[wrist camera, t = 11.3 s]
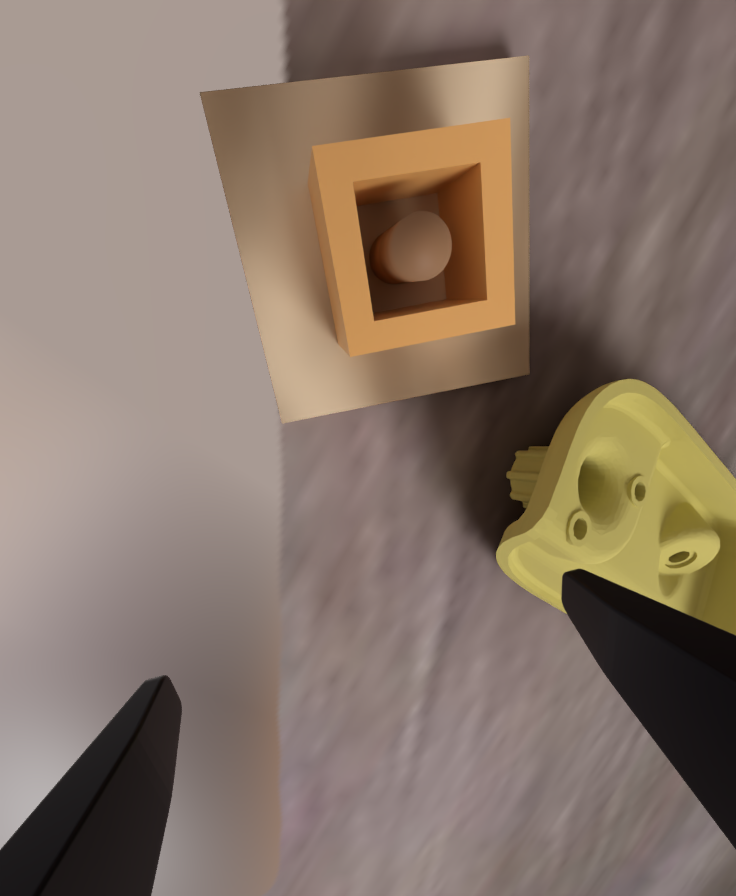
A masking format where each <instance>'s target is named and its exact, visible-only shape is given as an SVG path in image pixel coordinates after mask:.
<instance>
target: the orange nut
mask: <svg viewBox="0 0 736 896" xmlns="http://www.w3.org/2000/svg"><path fill="white" fill-rule="evenodd" d="M308 187H309V193H310V198H311V203H312V208H313V214H314V219H315V224H316V229H317V235H318V240H319V245H320V251H321V256H322V261H323V266H324V272H325V277H326V282H327V287H328V293H329V298H330V303H331V309H332V314H333V319H334V324H335V330H336V335H337V340H338V344H339V345H340V346H341V348H342V349H343V350H344V351H345V352H346V353H347V354H348V355H349V356H350V357H353V356H358V355H363V354H368V353H373V352H378V351H383V350H389V349H394V348H399V347H404V346H409V345H414V344H419V343H424V342H429V341H434V340H439V339H444V338H449V337H454V336H459V335H465V334H470V333H475V332H480V331H485V330H490V329H495V328H500V327H505V326H510V325H515V290H514V249H513V208H512V167H511V126H510V118H504V119H497V120H490V121H483V122H476V123H469V124H462V125H455V126H448V127H442V128H435V129H428V130H421V131H414V132H407V133H400V134H393V135H386V136H379V137H372V138H365V139H358V140H351V141H344V142H337V143H330V144H323V145H316V146H312V151H311V159H310V167H309V176H308ZM435 193H437V195H438V207H439V217H440V218H441V219H442V220H443V221H444V222H445V224H446V225H447V227H448V229H449V232H450V235H451V240H452V250H451V255H450V258H449V261H448V263H447V265H446V266H445V268H444V277H445V289H446V299H444V300H439V301H433V302H428V303H423V304H417V305H412V306H407V307H401V308H396V309H391V310H385V311H380V312H375V313H373V311H372V304H371V298H370V291H369V285H368V278H367V272H366V265H365V259H364V252H363V245H362V239H361V232H360V226H359V219H358V213H357V206H360V205H366V204H372V203H379V202H385V201H391V200H397V199H404V198H410V197H416V196H423V195H429V194H435Z"/></svg>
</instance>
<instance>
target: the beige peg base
mask: <svg viewBox="0 0 736 896" xmlns="http://www.w3.org/2000/svg"><path fill="white" fill-rule="evenodd" d="M200 96H201V100H202V104H203V108H204V111H205V116H206V120H207V124H208V128H209V132H210V136H211V140H212V144H213V148H214V152H215V156H216V160H217V164H218V168H219V172H220V176H221V180H222V183H223V188H224V192H225V196H226V200H227V204H228V208H229V212H230V216H231V220H232V224H233V228H234V232H235V236H236V240H237V244H238V248H239V252H240V256H241V260H242V264H243V268H244V272H245V276H246V280H247V284H248V288H249V293H250V296H251V301H252V304H253V309H254V312H255V317H256V321H257V324H258V329H259V333H260V336H261V341H262V345H263V349H264V353H265V357H266V361H267V365H268V369H269V373H270V377H271V381H272V385H273V389H274V393H275V397H276V401H277V405H278V409H279V413H280V417H281V421H282V423H287V422H292V421H297V420H302V419H307V418H312V417H317V416H322V415H327V414H332V413H337V412H342V411H347V410H352V409H357V408H363V407H368V406H373V405H378V404H383V403H388V402H393V401H398V400H403V399H408V398H413V397H418V396H423V395H428V394H433V393H438V392H443V391H448V390H453V389H458V388H463V387H468V386H473V385H478V384H483V383H488V382H493V381H498V380H503V379H508V378H513V377H518V376H523V375H528V374H529V56H521V57H512V58H503V59H494V60H485V61H476V62H467V63H458V64H449V65H440V66H431V67H422V68H413V69H404V70H396V71H387V72H378V73H369V74H360V75H351V76H342V77H333V78H324V79H315V80H306V81H297V82H288V83H279V84H270V85H261V86H252V87H243V88H235V89H226V90H217V91H208V92H200ZM504 118H510V126H511V167H512V208H513V249H514V290H515V325H510V326H505V327H500V328H495V329H490V330H485V331H480V332H475V333H470V334H465V335H459V336H454V337H449V338H444V339H439V340H434V341H429V342H424V343H419V344H414V345H409V346H404V347H399V348H394V349H389V350H383V351H378V352H373V353H368V354H363V355H358V356H353V357H350V356H349V355H348V354H347V353H346V352H345V351H344V350H343V349H342V348H341V346H340V345H339V344H338V340H337V335H336V330H335V324H334V319H333V314H332V309H331V303H330V298H329V293H328V287H327V282H326V277H325V272H324V266H323V261H322V256H321V251H320V245H319V240H318V235H317V229H316V224H315V219H314V214H313V208H312V203H311V198H310V193H309V187H308V176H309V167H310V159H311V151H312V146H316V145H323V144H330V143H337V142H344V141H351V140H358V139H365V138H372V137H379V136H386V135H393V134H400V133H407V132H414V131H421V130H428V129H435V128H442V127H448V126H455V125H462V124H469V123H476V122H483V121H490V120H497V119H504ZM357 213H358V219H359V226H360V232H361V239H362V245H363V252H364V259H365V265H366V272H367V278H368V285H369V291H370V298H371V304H372V311H373V313H375V312H380V311H385V310H391V309H396V308H401V307H407V306H412V305H417V304H423V303H428V302H433V301H439V300H444V299H446V289H445V277H444V268H445V266H446V265H447V263H448V261H449V258H450V255H451V250H452V240H451V235H450V232H449V229H448V227H447V225H446V224H445V222H444V221H443V220H442V219H441V218H440V217H439V207H438V195H437V193H435V194H429V195H423V196H416V197H410V198H404V199H397V200H391V201H385V202H379V203H372V204H366V205H360V206H357Z"/></svg>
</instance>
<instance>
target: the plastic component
mask: <svg viewBox="0 0 736 896" xmlns="http://www.w3.org/2000/svg"><path fill="white" fill-rule="evenodd" d="M515 456H516V460H515V462H514V464H513V466H512V469H511V471H508V472H507V476H506V477H507V478H508V479H510V482H511V488H512V491H511V493H510V496H511V498H512V499H513V500H519V501H522V502H523V507H524V508H527V509H526V510H525V512H524V513H523V515H522V516H521V517H520V518H519V519H518V520H517V521H515V522H513V523H512V524H510V525H509V526H508V527H507V528H506V530H505V532H504V534H503V537H502V539H501V542H500V544H499V547H498V549H497V552H496V559H497V562H498V565H499V566H500V568H501V569H502V570H503V572H504V573H505V574H506V575H507V576H509V577H510V578H511V579H512V580H513V581H514V582H516V583H517V584H518V585H520V586H521V587H523V588H524V589H526V590H527V591H528V592H530V593H532V594H533V595H535V596H537V597H539V598H540V599H542V600H544V601H545V602H547V603H549V604H551V605H552V606H554V607H556V608H557V609H559V610H561V611H562V612H564V613H566V611H565V609H564V607H563V604H562V600H561V594H562V575H563V574H564V573H565V572H567V571H571V570H575V569H584V570H586V571H588V572H591V573H593V574H595V575H598V576H600V577H602V578H605V579H607V580H609V581H612V582H614V583H616V584H619V585H621V586H623V587H625V588H628V589H630V590H632V591H635V592H637V593H639V594H642V595H644V596H646V597H649V598H651V599H653V600H655V601H658V602H660V603H662V604H665V605H667V606H669V607H672V608H674V609H676V610H679V611H681V612H683V613H685V614H688V615H690V616H692V617H695V618H697V619H699V620H702V621H704V622H706V623H709V624H711V625H713V626H716V627H718V628H720V629H722V630H725V631H727V632H729V633H732V634H734V635H736V479H735V478H734V477H733V475H732V474H731V473H730V472H729V471H728V469H727V468H726V467H725V466H724V465H723V463H722V462H721V461H720V460H719V459H718V457H717V456H716V455H715V454H714V452H713V451H712V450H711V449H710V448H709V446H708V445H707V444H706V443H705V442H704V440H703V439H702V438H701V437H700V436H699V434H698V433H697V432H696V431H695V429H694V428H693V427H692V426H691V425H690V423H689V422H688V421H687V420H686V419H685V418H684V417H683V415H682V414H681V413H680V412H679V411H678V410H677V409H676V407H675V406H674V405H673V404H672V403H671V402H670V401H669V400H668V399H667V398H666V397H665V396H663V395H662V394H661V393H660V392H659V391H658V390H656V389H655V388H654V387H652V386H650V385H649V384H647V383H645V382H642V381H639V380H635V379H625V380H618V381H614V382H610V383H608V384H605V385H602V386H600V387H599V388H597V389H595V390H593V391H592V392H590V393H589V394H587V395H586V396H585V397H583V398H582V399H581V400H580V401H578V402H577V403H576V404H575V405H574V406H573V407H572V408H571V409H570V410H569V411H568V413H567V414H566V415H565V416H564V418H563V419H562V421H561V422H560V424H559V426H558V428H557V429H556V431H555V434H554V436H553V438H552V441H551V443H550V446H530V447H529V448H528V451H517V452H516V453H515ZM566 614H567V613H566Z"/></svg>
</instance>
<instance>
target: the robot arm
mask: <svg viewBox="0 0 736 896" xmlns="http://www.w3.org/2000/svg"><path fill="white" fill-rule="evenodd" d="M561 600H562V604H563V607H564V609H565V611H566V613H567V614H568V616H569V618H570V619H571V621H572V622H573V624H574V626H575V627H576V629H577V631H578V632H579V634H580V636H581V637H582V639H583V640H584V642H585V644H586V645H587V647H588V649H589V650H590V652H591V653H592V655H593V657H594V658H595V660H596V662H597V663H598V665H599V666H600V668H601V669H602V671H603V672H604V674H605V675H606V677H607V678H608V679H609V681H610V682H611V683H612V685H613V686H614V687H615V689H616V690H617V691H618V693H619V694H620V695H621V697H622V698H623V699H624V701H625V702H626V703H627V705H628V706H629V707H630V709H631V710H632V711H633V713H634V714H635V715H636V717H637V718H638V719H639V721H640V722H641V723H642V725H643V726H644V727H645V729H646V730H647V731H648V733H649V734H650V735H651V737H652V738H653V740H654V741H655V742H656V744H657V745H658V746H659V748H660V749H661V750H662V752H663V753H664V754H665V756H666V757H667V758H668V760H669V761H670V762H671V764H672V765H673V766H674V768H675V769H676V770H677V772H678V773H679V774H680V776H681V777H682V778H683V780H684V781H685V782H686V784H687V785H688V786H689V788H690V789H691V790H692V792H693V793H694V794H695V796H696V797H697V798H698V800H699V801H700V802H701V804H702V805H703V806H704V808H705V809H706V810H707V812H708V813H709V814H710V816H711V817H712V818H713V820H714V821H715V822H716V824H717V825H718V826H719V828H720V829H721V830H722V832H723V833H724V834H725V836H726V837H727V838H728V840H729V841H730V842H731V844H732V845H733V846H734V848H735V849H736V635H734V634H732V633H729V632H727V631H725V630H722V629H720V628H718V627H716V626H713V625H711V624H709V623H706V622H704V621H702V620H699V619H697V618H695V617H692V616H690V615H688V614H685V613H683V612H681V611H679V610H676V609H674V608H672V607H669V606H667V605H665V604H662V603H660V602H658V601H655V600H653V599H651V598H649V597H646V596H644V595H642V594H639V593H637V592H635V591H632V590H630V589H628V588H625V587H623V586H621V585H619V584H616V583H614V582H612V581H609V580H607V579H605V578H602V577H600V576H598V575H595V574H593V573H591V572H588V571H586V570H584V569H575V570H571V571H567V572H565V573H564V574H563V575H562V594H561ZM181 715H182V706H181V701H180V698H179V696H178V694H177V692H176V690H175V688H174V686H173V684H172V682H171V680H170V678H169V677H168V676H166V675H163V676H159V677H155V678H151V679H148V680H146V681H145V682H144V683H143V684H142V685H141V686H140V687H139V688H138V689H137V691H136V692H135V693H134V694H133V696H131V698H130V699H129V700H128V701H127V702H126V703H125V705H124V706H123V707H122V708H121V709H120V711H119V712H118V713H117V714H116V715H115V717H113V719H112V720H111V721H110V722H109V723H108V724H107V726H106V727H105V728H104V729H103V730H102V732H101V733H100V734H99V735H98V736H97V738H96V739H95V740H94V741H93V742H92V743H91V744H90V746H89V747H88V748H87V749H86V750H85V751H84V753H83V754H82V755H81V756H80V757H79V759H78V760H77V761H76V762H75V763H74V764H73V766H72V767H71V768H70V769H69V770H68V771H67V772H66V774H65V775H64V776H63V777H62V778H61V779H60V781H59V782H58V783H57V784H56V785H55V786H54V788H53V789H52V790H51V791H50V792H49V793H48V795H47V796H46V797H45V798H44V799H43V800H42V802H41V803H40V804H39V805H38V806H37V808H36V809H35V810H34V811H33V812H32V813H31V815H30V816H29V817H28V818H27V819H26V820H25V821H24V823H23V824H22V825H21V826H20V827H19V828H18V830H17V831H16V832H15V833H14V834H13V836H12V837H11V838H10V839H9V840H8V841H7V843H6V844H5V845H4V846H3V847H2V848H1V850H0V896H151V893H152V889H153V884H154V879H155V874H156V870H157V865H158V860H159V856H160V851H161V845H162V841H163V836H164V832H165V827H166V822H167V818H168V813H169V808H170V803H171V797H172V790H173V783H174V775H175V766H176V757H177V748H178V740H179V732H180V723H181Z"/></svg>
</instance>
